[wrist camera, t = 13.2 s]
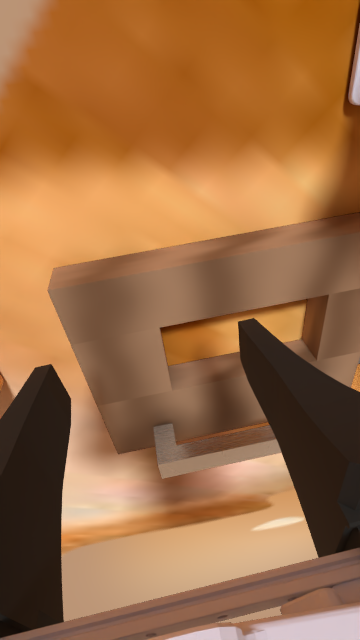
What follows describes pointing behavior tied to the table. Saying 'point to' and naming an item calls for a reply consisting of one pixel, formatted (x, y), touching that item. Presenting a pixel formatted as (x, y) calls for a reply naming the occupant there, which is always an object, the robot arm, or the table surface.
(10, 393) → the table surface
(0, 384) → the small box
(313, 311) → the puzzle board
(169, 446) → the bar
